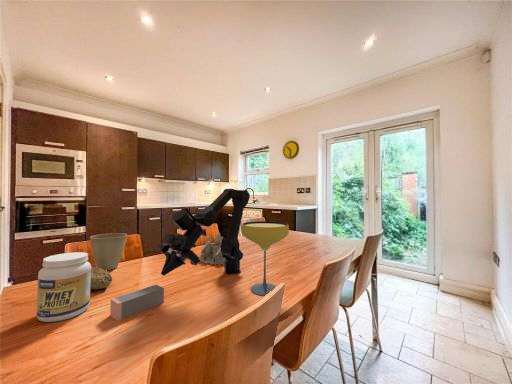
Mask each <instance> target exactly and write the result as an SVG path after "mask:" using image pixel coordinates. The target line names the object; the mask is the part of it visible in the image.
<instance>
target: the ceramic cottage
mask: <svg viewBox="0 0 512 384" xmlns="http://www.w3.org/2000/svg"><path fill="white" fill-rule="evenodd" d="M213 238H214V239H213V240H214V241H213V243H211V236H206V242H205V244H204V245H203V246H202V247H201V249H200V255H199V256H198V257H199V260H200V261H202V262H201V263H204V262H206V263H205V264H208V263H210V264H209V265H212V264H218V265H224V262H225V258H223V256H222V253H221V247H220V246H221V242H222V239H224V236H221V232H218V233H217V234H216V236H214V237H213ZM200 261H199V262H200Z"/></svg>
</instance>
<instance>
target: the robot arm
mask: <svg viewBox="0 0 512 384" xmlns="http://www.w3.org/2000/svg"><path fill="white" fill-rule="evenodd" d="M250 198H251V194H250V192H249V190H247V189H234V188H225V189H224V190H223V191H222V192H221V194H220V195H218V196H217V197H216V198H215V199H214V200H213V201H212V202H211V203H210V204H209V205H208V206H207V207H204V208H202V209H200V210H199V211H197V212H196V213H195V214H194V215H193V214H192V213H191V211H190V210H189V209H188V207H183V208H182V209H180V210H178V211H177V212H175V213H174V214H173V215H172V217H171V221H172V222H173V223H174V224H175V225H176V226H177V227H178V228H179V229H180V230H181V231H184V233H183V234H181V233H176V234H171V233H167V232H165V234H164V235H163V238H162V239H161V240H162V241H161V242H162V243H161V244H159V246H157V250H158V251H159V252H161V254H163V255H164V256H165V261H164V264H163V266H162V269H161V272H160V275H161V276H164V277H165V276H166V275H168V274H169V273H171V272H172V271H174V270H176V269H178V268H180V267H181V266H183V265H184V266H185V265H186V260H188V261H190V265H192V266H194V267H197V266H198V264H199V262H200V261H199V257H200V256H198V255H197V254H196V253H195V252H194V251H193V250H192V249H193V248H196V247H197V244H196V243H197V242H198V240H199V239H200V237H201V236H203V237H207V229H206V228H203V227H207V228H208V227H211V226H212V225H213V224H214V223H215V221H216V220H217V215H218V213H220V211H221V210H222V209H223V208H224V207H225V206H226V205H227V204H228V203H229V202H230V200H231V203H232V205H233V207H232V213H231V217H230V222H229V226H228V230H227V236H226V237H225V238H223V239H222V242H221V246H220V247H221V253H222V256H223V258H225V262H224V264H223V270H224V272H225V273H226V274H228V275H232V274H237V273H241V272H242V270H241V260H242V259H243V257H244V253H243V252H242V251H241V249H240V241H239V238H238V237H239V233H240V228H241V223H242V218H243V214H244V213H243V212H244V209H245V207H247V205H248V204H249V201H250ZM169 244H170V245H169Z"/></svg>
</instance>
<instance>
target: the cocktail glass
mask: <svg viewBox="0 0 512 384" xmlns="http://www.w3.org/2000/svg"><path fill="white" fill-rule="evenodd" d="M289 233H290V226H289V224H288V223H286V222H278V221H265V220H264V221H263V220H262V221H247V222H244V223H242V225H241V234H242V235H243V236H244V237H245V238H246V239H247V240H249V241H251V242H252V243H255V244H257V246H259V248H260V249H261V250H262V251H263V282H262V283H261V282H259V283H256V284H253V285H251V286H250V291H251V292H252V293H253V294H254V295H258V296H262V297H264V296H265V295H266V294H268V293H269V292H270V291H272V290H273V289H274V288H275V287H276V286H277V285H275V284H272V283H267V273H266V271H267V270H266V269H267V268H266V265H267V263H266V262H267V261H266V259H267V256H266V255H267V253H266V252H267V251H268V250H269V249H270V247H271V246H272V245H274V244H276V243H279V242H281V241H283V240H284V239H285V238H286V237H288V235H289Z"/></svg>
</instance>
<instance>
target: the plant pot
mask: <svg viewBox="0 0 512 384" xmlns="http://www.w3.org/2000/svg"><path fill="white" fill-rule="evenodd" d="M127 237H128V234H127V233H120V232H118V233H117V232H115V233H114V232H110V233H100V234H95V235H91V236H89V241H90V247H91V251H92V255H93V259H94V261H95V265H96V267H97V268H101V269H104V270H108V271H112V270H111V269H113V270H115V269H114V268H116V269H117V268H118V266H119V264H120V262H121V259H122V256H123V254H124V250H125V246H126V242H127Z"/></svg>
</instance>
